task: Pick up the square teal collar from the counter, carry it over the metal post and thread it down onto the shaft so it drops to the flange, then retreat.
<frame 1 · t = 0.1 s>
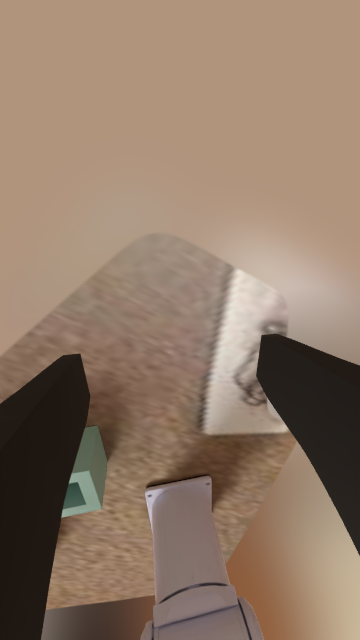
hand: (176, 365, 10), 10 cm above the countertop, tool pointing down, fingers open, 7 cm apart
collar: (75, 449, 24), on the countertop
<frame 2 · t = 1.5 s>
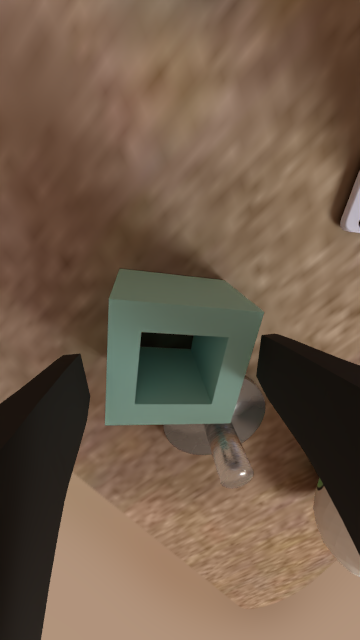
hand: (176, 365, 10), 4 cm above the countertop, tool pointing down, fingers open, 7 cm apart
post: (213, 411, 16), on the countertop
collar: (167, 322, 13), on the countertop
decorative sculpture: (334, 462, 22), on the countertop
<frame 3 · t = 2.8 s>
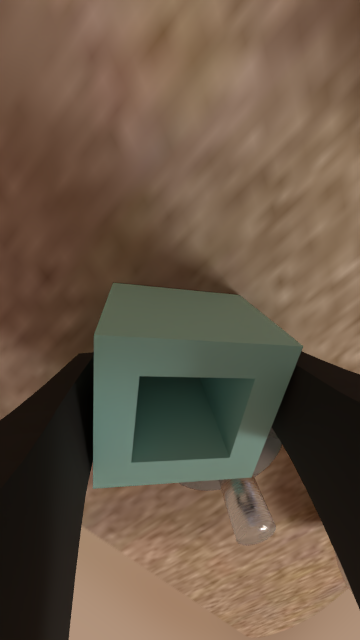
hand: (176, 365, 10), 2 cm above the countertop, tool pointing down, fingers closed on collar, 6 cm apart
post: (222, 442, 14), on the countertop
collar: (171, 345, 11), on the countertop, touching gripper
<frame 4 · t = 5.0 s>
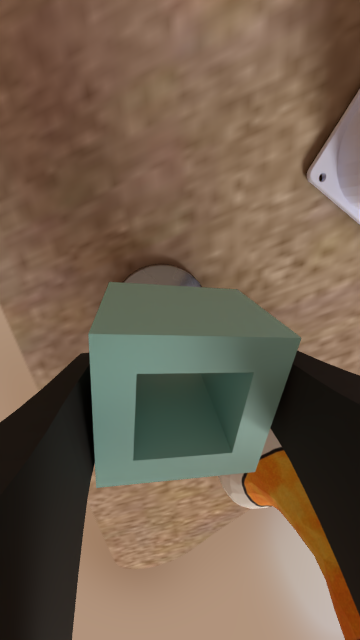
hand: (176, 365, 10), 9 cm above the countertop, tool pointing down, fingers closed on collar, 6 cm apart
post: (161, 310, 18), on the countertop
collar: (170, 342, 11), point 7 cm above the countertop, touching gripper
decorative sculpture: (245, 413, 24), on the countertop
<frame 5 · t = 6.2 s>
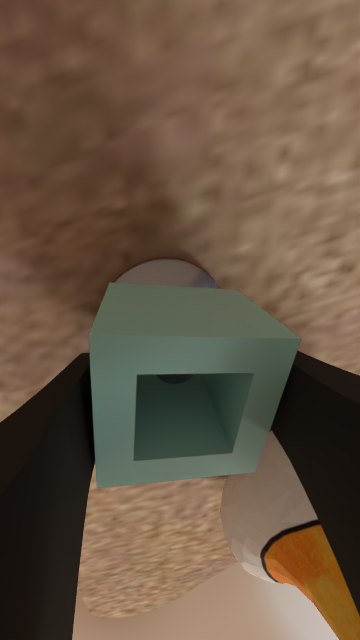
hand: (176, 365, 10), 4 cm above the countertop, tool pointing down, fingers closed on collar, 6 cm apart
post: (165, 320, 14), on the countertop
collar: (171, 343, 11), point 3 cm above the countertop, touching gripper
decorative sculpture: (258, 448, 20), on the countertop
when the fingers open (4 cm above the countertop, at t = 7.2 s): collar drops 2 cm, resting on post.
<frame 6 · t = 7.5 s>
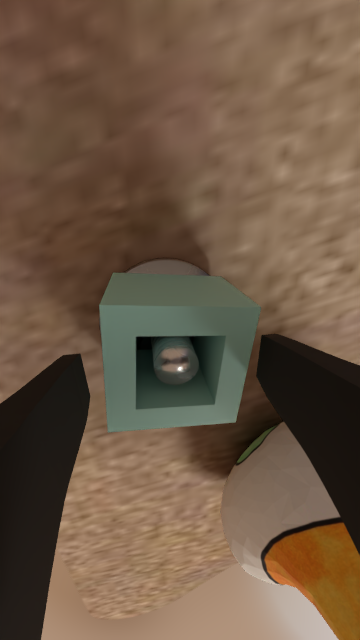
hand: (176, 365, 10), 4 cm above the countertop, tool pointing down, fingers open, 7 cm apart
post: (165, 320, 13), on the countertop
collar: (166, 323, 13), point 1 cm above the countertop, touching post
decorative sculpture: (258, 449, 20), on the countertop
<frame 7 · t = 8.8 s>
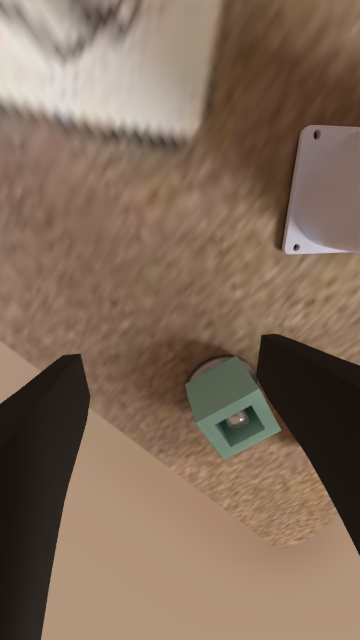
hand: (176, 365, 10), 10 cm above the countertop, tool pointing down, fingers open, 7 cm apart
post: (220, 385, 23), on the countertop
collar: (222, 389, 23), point 1 cm above the countertop, touching post
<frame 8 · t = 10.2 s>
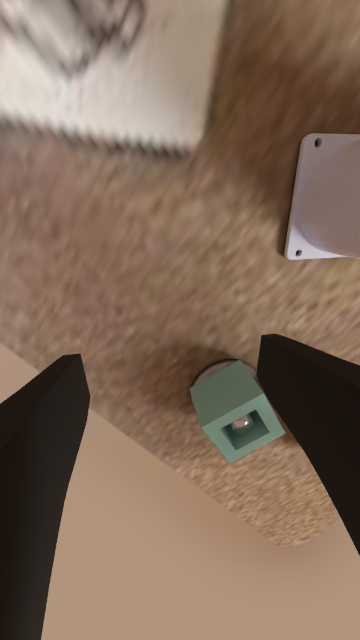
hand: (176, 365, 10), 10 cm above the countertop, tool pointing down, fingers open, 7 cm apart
post: (224, 389, 24), on the countertop
collar: (226, 392, 23), point 1 cm above the countertop, touching post
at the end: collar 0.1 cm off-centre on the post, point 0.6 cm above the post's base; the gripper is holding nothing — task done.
